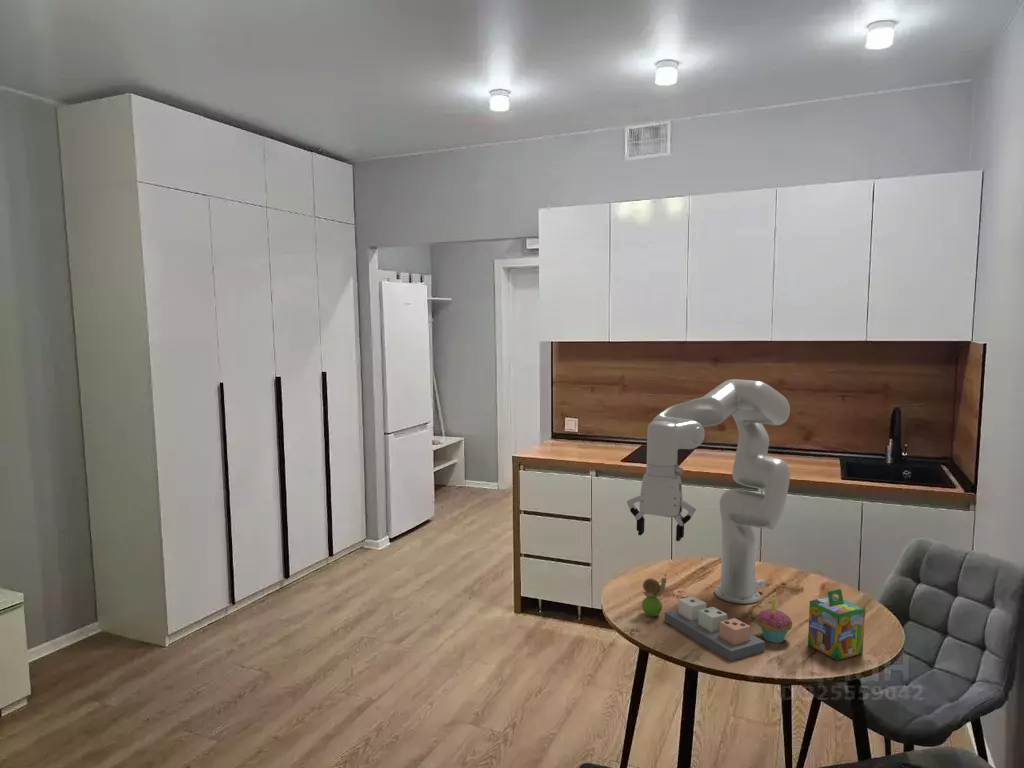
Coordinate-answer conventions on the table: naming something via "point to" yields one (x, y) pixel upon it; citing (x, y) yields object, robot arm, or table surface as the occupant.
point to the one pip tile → (691, 607)
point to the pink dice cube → (734, 631)
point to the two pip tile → (711, 619)
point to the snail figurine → (653, 596)
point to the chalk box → (836, 626)
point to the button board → (714, 638)
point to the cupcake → (774, 624)
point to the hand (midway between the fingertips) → (659, 536)
